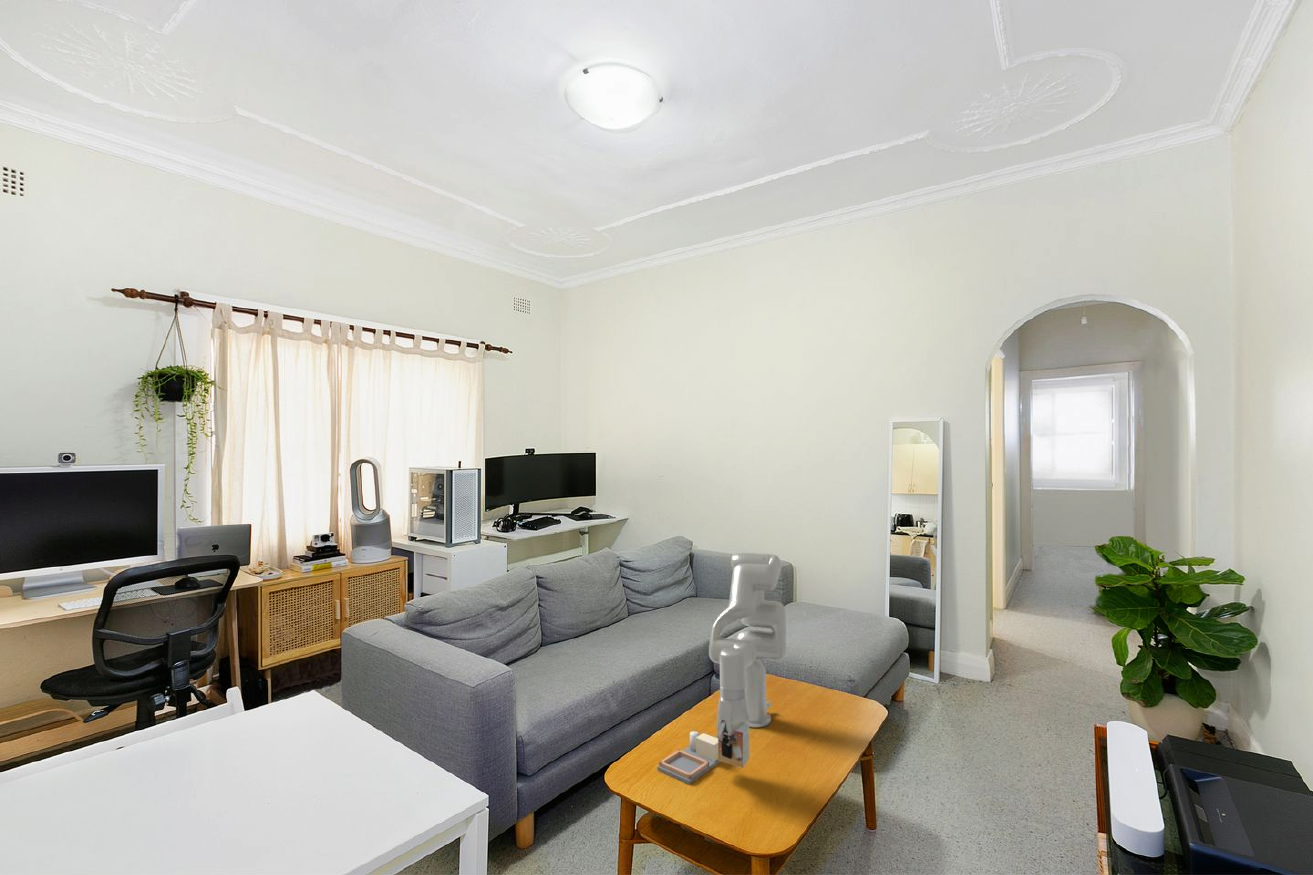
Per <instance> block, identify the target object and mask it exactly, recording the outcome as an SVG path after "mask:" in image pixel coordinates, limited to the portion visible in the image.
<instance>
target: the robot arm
mask: <svg viewBox="0 0 1313 875" xmlns="http://www.w3.org/2000/svg"><path fill="white" fill-rule="evenodd" d="M730 566H731V569H732V573H731V574H732V575H731V582H730V591H729V600H728V606H727V607H726V608H725V609H724V610H723V611H722V612H721V613H720V614H718V616H717V618H716V619H715V621H714V623H713V625H712V627H711V631H710V637H709V645H708V656H709V659H710V660H711V662H713V663H715V664H719V689H720V690H719V696H720V697H719V699H718V705H717V719H716V730H717V733H716V738H718V739H719V741H720V742H721V743H722V756H724V757H727V758H729V759H731V758H732V745H731V739H732V735H733V734H735V731H736V730H737V729H738V728H740V727H741V726H742V725H744V724H749V728H764V727H767V726H768V725H770V723H771V721H772V719H771V717H772V716H771V715H770V714H769V713H768V712H767V710H768V709H770V707H771V706H772V703H771V702H770V701H768V700H767V670H766V668H765V666H764V664H763V662H762V661H761V660H767V661H775V662H776V661H777V662H778V661H779V662H780V661H783V660H784V659H785V657H786V654H787V616H786V608H785V606H784V604H783V603H782V602H780V601H777V600H766V599H765V591H769V592H770V591H774V590H775V589H776V588H777V585H778V580H779V577H780V575H781V572H782V562H781V559H780V558H779V555H776V554H770V553H755V552H739V553H737V552H736V553H734V554H733V555H732V556H731V558H730ZM737 621H741V622H742V625H744V626H745V627H746V626H747V627H751V628H759V629H760V628H761V629H770V630H771V631H763V630H757V629H756V630H755V629H744V630H741V631H739V632H738V634H737V635H736V638H735V639H734V638H726V637H725V638H724V637H721V635H722V632H723V631H724V629H725V628H727V627H728V626H729V625H731V624H732V623H734V622H737ZM725 730H727V732H728V733H727V732H725ZM725 735H728V740H727V739H726V738H725Z"/></svg>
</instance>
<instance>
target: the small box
mask: <svg viewBox="0 0 1313 875" xmlns="http://www.w3.org/2000/svg"><path fill="white" fill-rule="evenodd" d="M725 732H727V730H725ZM727 733H728V732H727ZM725 738H726V739H727V740H728V735H725ZM731 745H732V758H731V759H729V758H727V757H724V756H722V743H721V742H720V741H719V739H718V761H720V763H724V764H729V765H732V766H734V767H739V768H740V769H741V768H742V769H743V768H745V766H746V764H747V763H748V762H749V760H750V727H749V724H744V725H742V726H741V727H740V728H738V729H737V730H736V731H735V734H733V735H732V739H731Z"/></svg>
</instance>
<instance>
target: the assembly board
mask: <svg viewBox="0 0 1313 875" xmlns="http://www.w3.org/2000/svg"><path fill="white" fill-rule="evenodd" d="M719 763H721V762H720V761H718V738H717V737H716V736H715V737H714V736H711V735H709V734H707V733H701V734H700V733H699V731H695V730H693V731H690V732H689V746H687V747H686V748H684V749H683V750H681V749H678V750H676V751H674V752H673V753H671V754H670V755H668V756H666V757H665V758H664V759H662V760H660V761H659V762H658V765H657V771H658V772H661V773H663V774H665V775H667V776H670V777H671V778H673V779H676V780H679V781H680V782H682V783H685V784H686V785H691V784H692V783H693V782H695V781H696V780H698V779H699V778H700V777H702V776H703V775H704V774H707V772H708V771H710V770H712V769H713V768H714V767H715V766H717V765H718V764H719Z"/></svg>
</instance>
